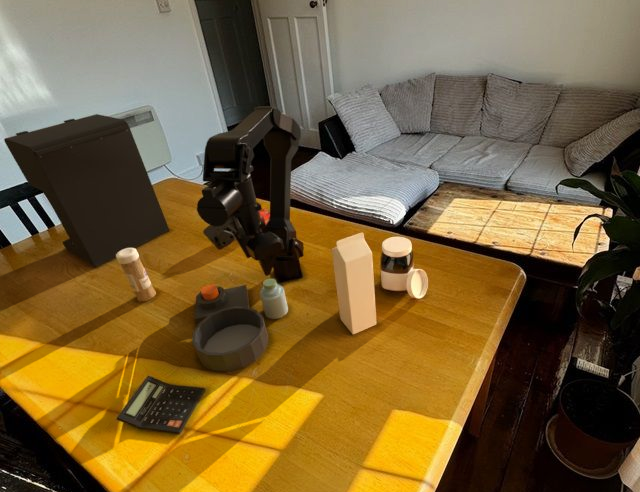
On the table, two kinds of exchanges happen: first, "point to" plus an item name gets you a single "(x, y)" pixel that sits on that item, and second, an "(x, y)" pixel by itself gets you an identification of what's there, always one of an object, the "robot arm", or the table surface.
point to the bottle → (273, 299)
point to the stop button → (209, 292)
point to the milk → (354, 282)
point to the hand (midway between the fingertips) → (258, 265)
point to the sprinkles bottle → (136, 274)
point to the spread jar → (401, 268)
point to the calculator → (161, 406)
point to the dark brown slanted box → (92, 184)
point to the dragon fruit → (264, 215)
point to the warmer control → (221, 301)
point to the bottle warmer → (230, 339)
